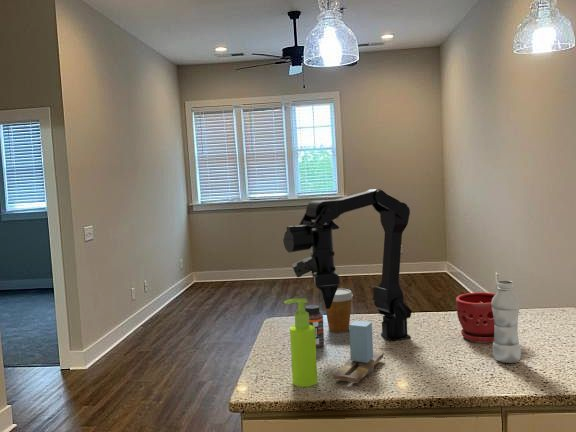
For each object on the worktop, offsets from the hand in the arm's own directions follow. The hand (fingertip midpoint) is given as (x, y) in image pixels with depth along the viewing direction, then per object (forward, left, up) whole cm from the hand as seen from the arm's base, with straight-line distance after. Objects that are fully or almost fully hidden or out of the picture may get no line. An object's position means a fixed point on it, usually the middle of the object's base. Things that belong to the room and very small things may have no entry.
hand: (326, 304), depth 141 cm
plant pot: (-43, +10, -14) cm, 46 cm away
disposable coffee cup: (-12, -18, -14) cm, 25 cm away
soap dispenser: (+14, +15, -14) cm, 25 cm away
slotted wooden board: (-1, +16, -14) cm, 21 cm away
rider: (-2, +15, -12) cm, 19 cm away
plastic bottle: (-36, +27, -14) cm, 47 cm away
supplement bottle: (+1, -8, -14) cm, 16 cm away
